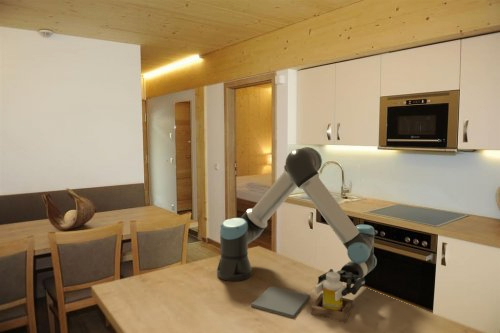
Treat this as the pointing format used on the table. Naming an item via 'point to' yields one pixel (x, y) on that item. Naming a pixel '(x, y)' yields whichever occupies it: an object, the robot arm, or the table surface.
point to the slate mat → (281, 301)
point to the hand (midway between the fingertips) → (326, 293)
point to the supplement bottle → (332, 292)
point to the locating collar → (332, 314)
